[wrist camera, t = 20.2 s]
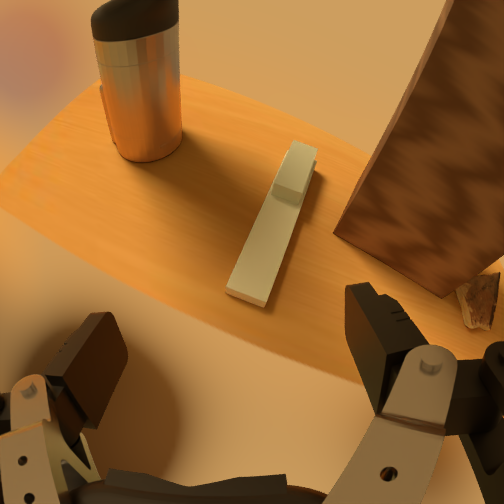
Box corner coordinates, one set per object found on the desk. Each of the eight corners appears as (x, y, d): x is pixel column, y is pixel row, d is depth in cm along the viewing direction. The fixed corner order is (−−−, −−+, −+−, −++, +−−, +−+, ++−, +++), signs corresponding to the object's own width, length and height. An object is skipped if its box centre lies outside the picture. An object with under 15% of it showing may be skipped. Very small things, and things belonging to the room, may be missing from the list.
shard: (494, 276, 36) (501, 270, 34) (508, 323, 32) (516, 319, 31) (450, 283, 34) (458, 277, 33) (465, 339, 31) (474, 335, 29)
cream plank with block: (225, 294, 30) (226, 277, 27) (284, 161, 40) (290, 138, 37) (263, 309, 30) (270, 294, 27) (313, 171, 40) (321, 149, 36)
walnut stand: (327, 234, 35) (465, -52, 7) (355, 177, 40) (455, -41, 12) (443, 303, 32) (642, 122, 4) (454, 239, 37) (594, 71, 9)
